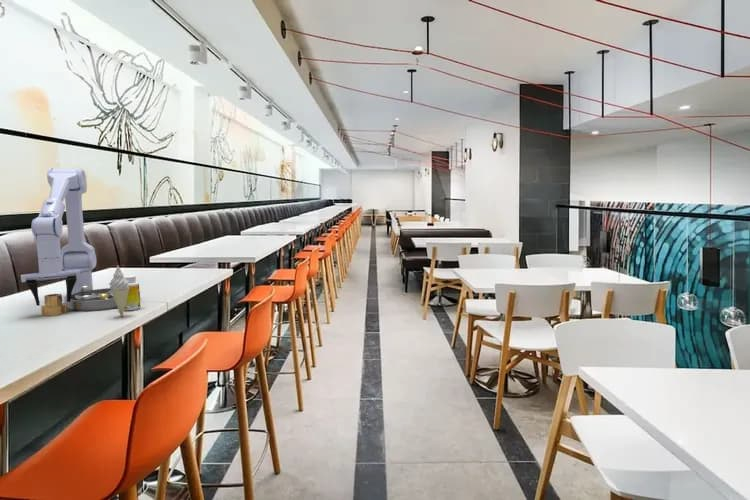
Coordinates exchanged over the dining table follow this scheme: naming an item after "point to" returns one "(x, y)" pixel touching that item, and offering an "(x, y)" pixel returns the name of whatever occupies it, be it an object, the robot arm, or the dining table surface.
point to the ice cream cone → (119, 289)
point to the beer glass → (132, 294)
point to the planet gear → (53, 305)
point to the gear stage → (91, 299)
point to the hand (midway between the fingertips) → (53, 303)
